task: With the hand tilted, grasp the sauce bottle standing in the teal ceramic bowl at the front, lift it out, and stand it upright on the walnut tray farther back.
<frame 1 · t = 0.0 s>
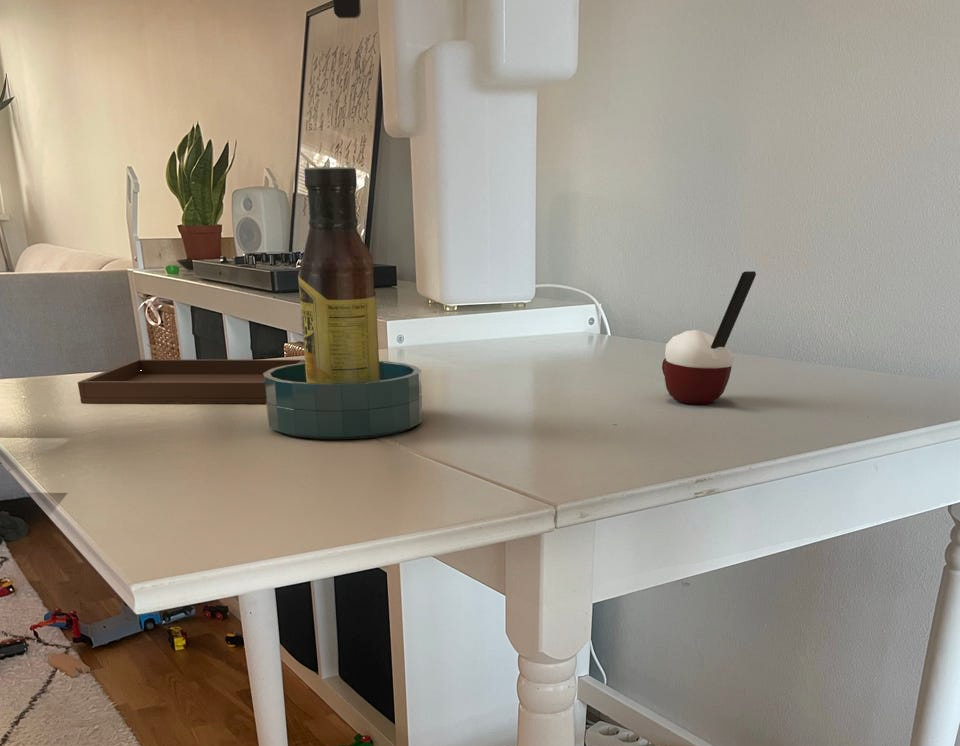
hand: (338, 8, 79), 32 cm above the table, tool pointing down, fingers open, 8 cm apart
ice cream cup: (696, 404, 93), on the table
sauce bottle: (345, 423, 84), resting on bowl
bowl: (345, 424, 84), on the table
tray: (202, 389, 101), on the table
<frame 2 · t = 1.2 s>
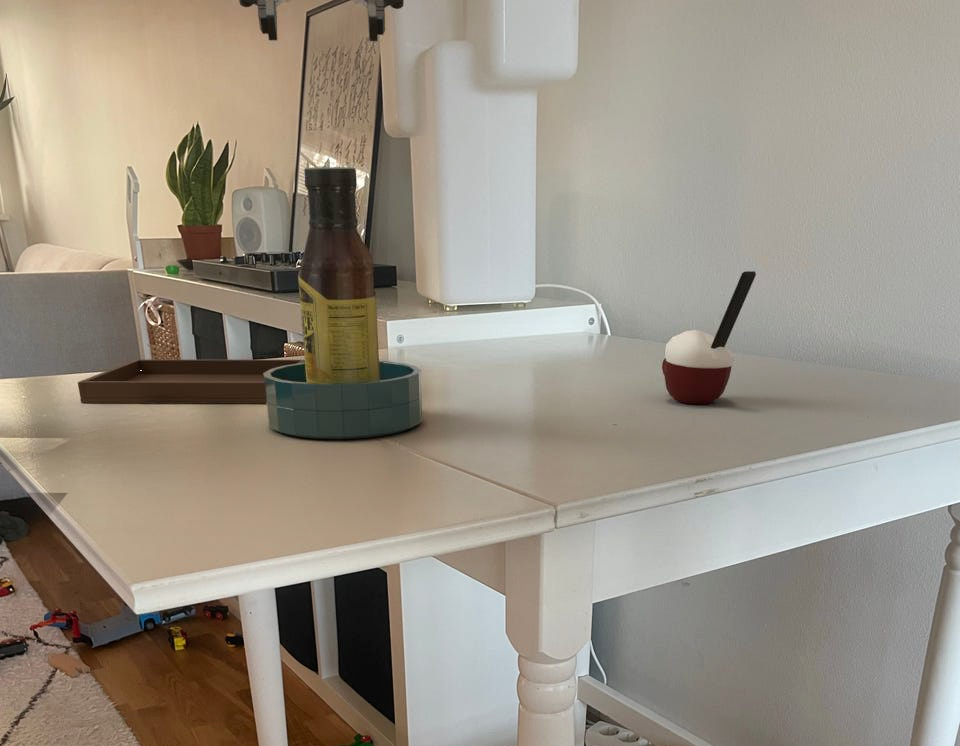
hand: (323, 31, 82), 31 cm above the table, tool tilted 45°, fingers open, 8 cm apart
nothing on the table moved.
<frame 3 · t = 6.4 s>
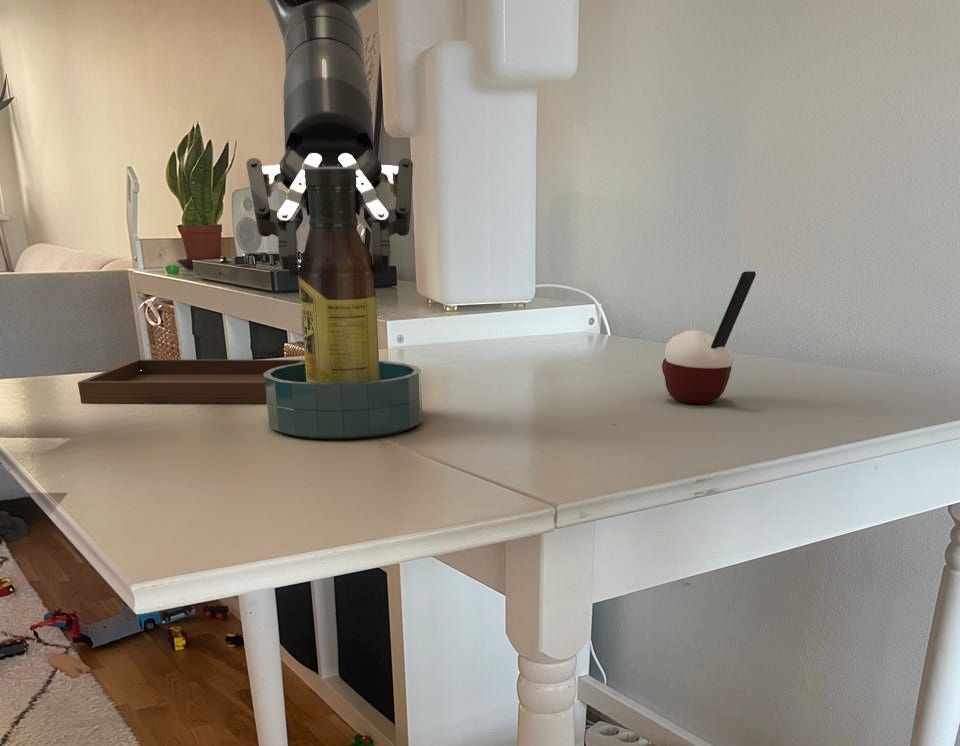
hand: (336, 267, 78), 13 cm above the table, tool tilted 45°, fingers closed on sauce bottle, 6 cm apart
sauce bottle: (345, 423, 84), resting on bowl, touching gripper
everything else where it was.
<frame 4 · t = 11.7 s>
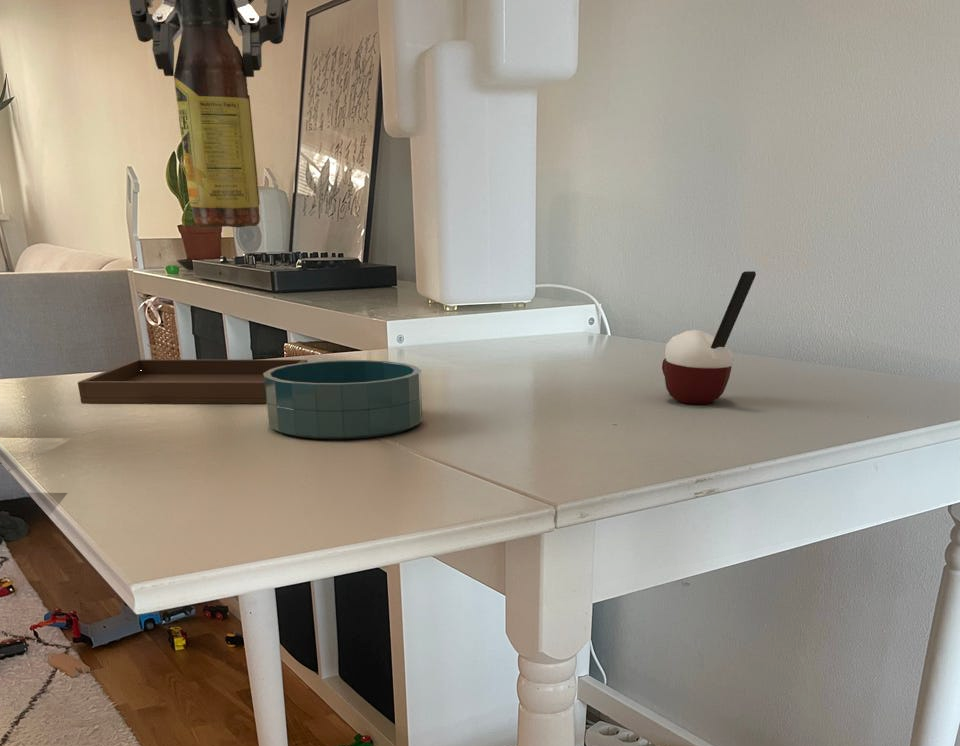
hand: (207, 67, 82), 28 cm above the table, tool tilted 45°, fingers closed on sauce bottle, 6 cm apart
sauce bottle: (227, 229, 89), point 15 cm above the table, touching gripper
everything else where it was.
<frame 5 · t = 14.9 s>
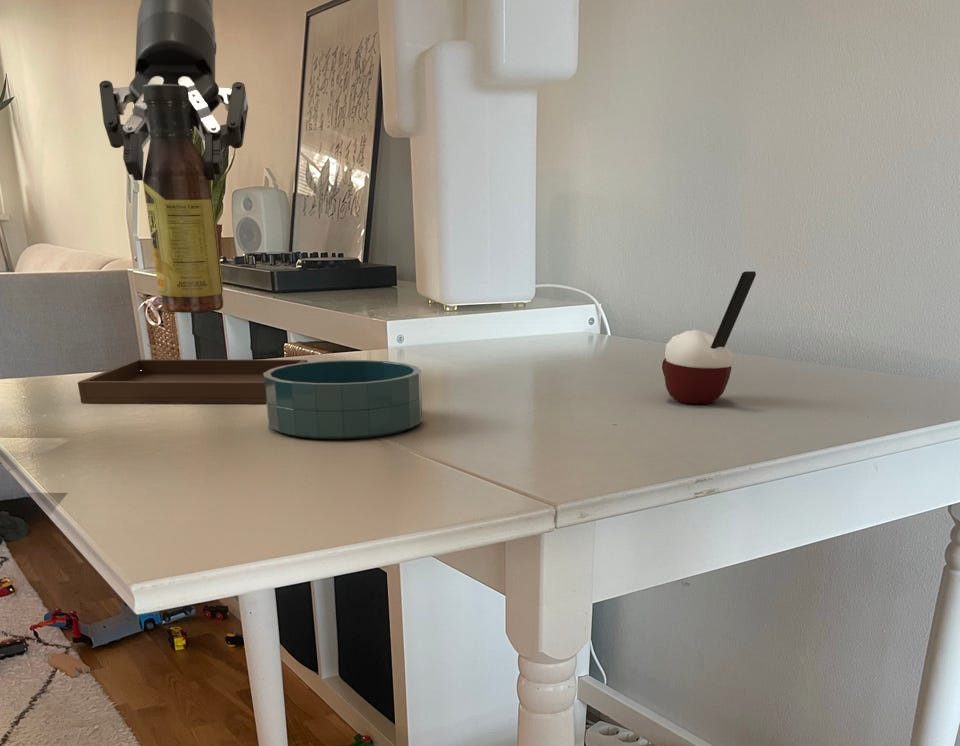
hand: (173, 173, 91), 20 cm above the table, tool tilted 45°, fingers closed on sauce bottle, 6 cm apart
sauce bottle: (193, 313, 98), point 8 cm above the table, touching gripper
everything else where it was.
when the fingers open (13 cm above the table, at t = 17.5 s): sauce bottle stays where it is, resting on tray.
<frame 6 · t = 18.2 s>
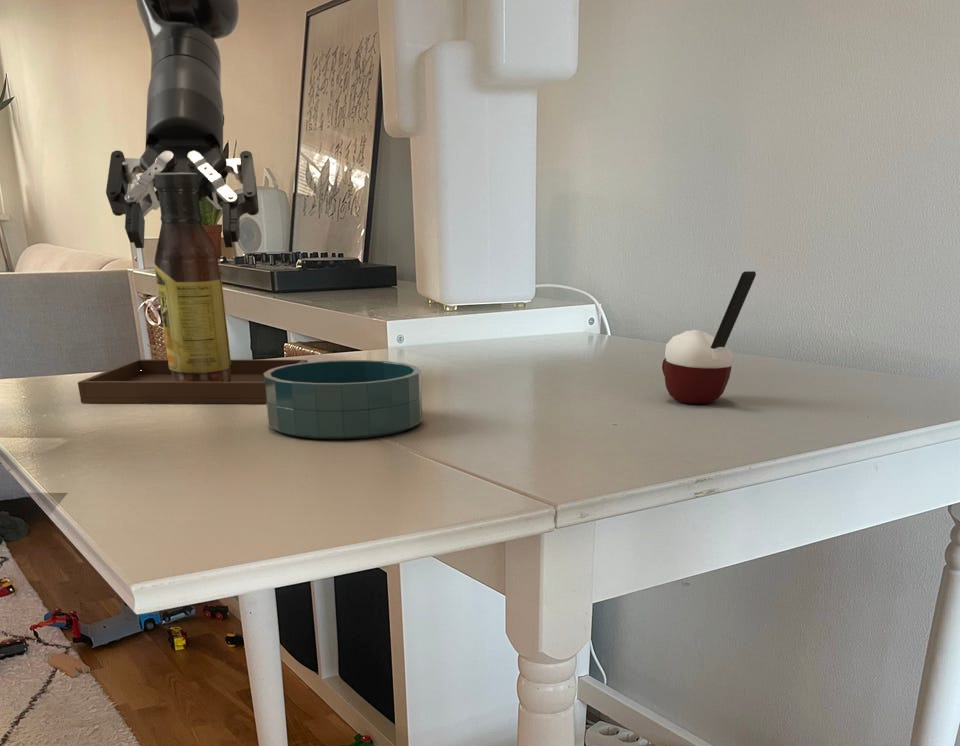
hand: (183, 241, 94), 14 cm above the table, tool tilted 45°, fingers open, 8 cm apart
sauce bottle: (202, 386, 101), resting on tray
everything else where it was.
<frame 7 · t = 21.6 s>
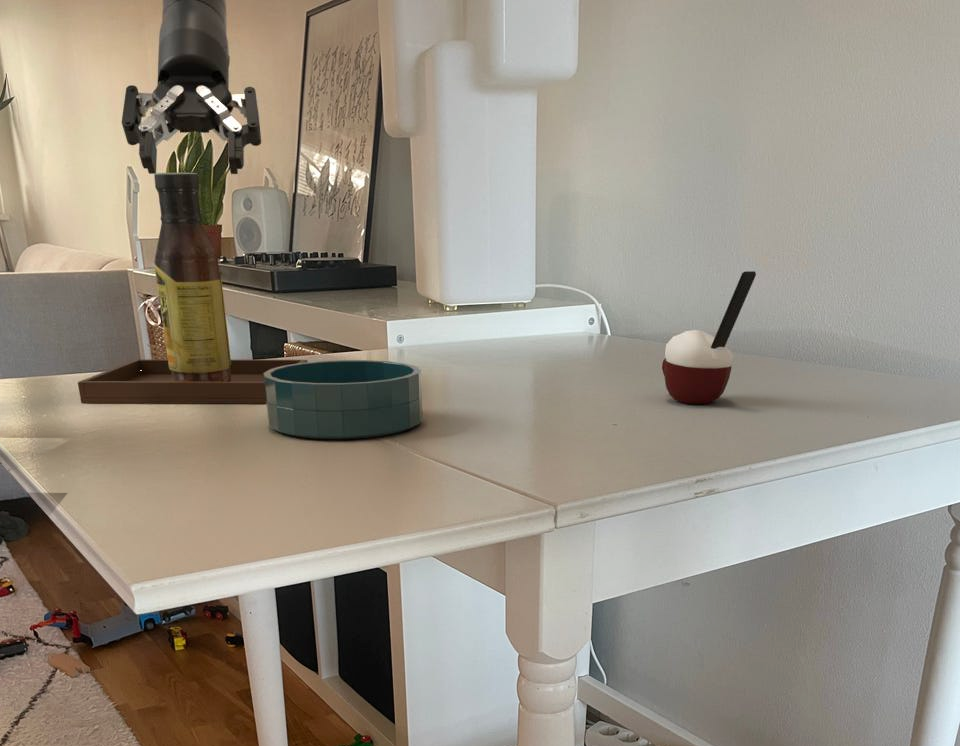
hand: (192, 167, 103), 21 cm above the table, tool tilted 45°, fingers open, 8 cm apart
nothing on the table moved.
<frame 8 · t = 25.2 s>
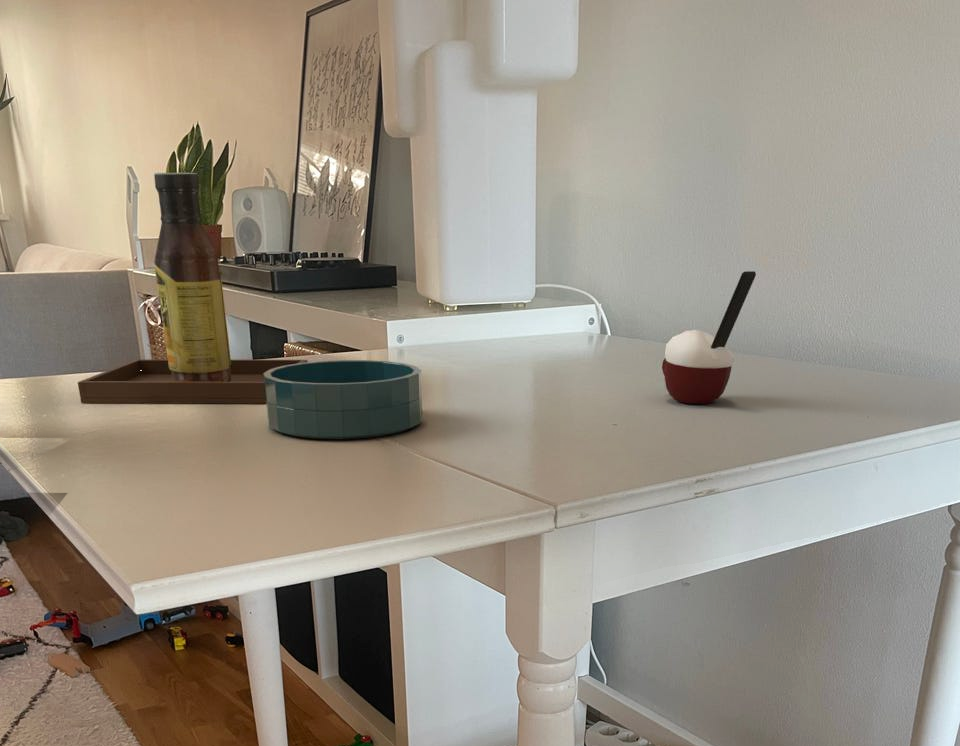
nothing on the table moved.
at the end: sauce bottle inside the target area in the tray (0.2 cm from its centre), point 0.3 cm above the tray's base; sauce bottle tilted 0°; the gripper is holding nothing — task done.
